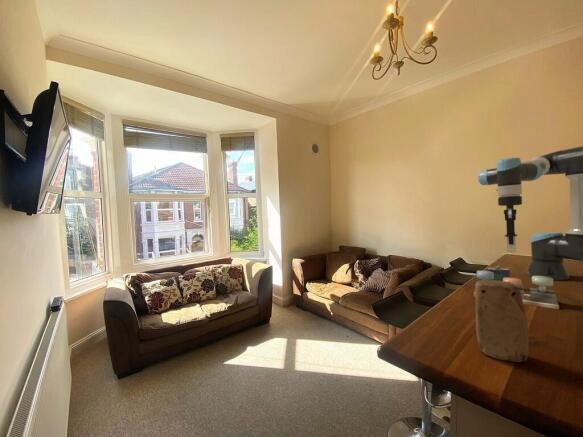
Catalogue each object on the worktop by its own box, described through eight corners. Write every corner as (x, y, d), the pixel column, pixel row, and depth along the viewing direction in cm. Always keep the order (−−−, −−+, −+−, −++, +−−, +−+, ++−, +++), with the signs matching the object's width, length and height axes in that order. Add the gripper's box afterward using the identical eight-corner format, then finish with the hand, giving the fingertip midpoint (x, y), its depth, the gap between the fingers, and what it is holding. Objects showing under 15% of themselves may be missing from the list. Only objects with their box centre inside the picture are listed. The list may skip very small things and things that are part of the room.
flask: (509, 286, 120) (508, 264, 120) (512, 288, 117) (511, 266, 117) (486, 285, 123) (485, 264, 123) (488, 287, 121) (487, 265, 120)
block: (475, 353, 69) (473, 282, 69) (478, 342, 75) (476, 276, 74) (529, 368, 62) (527, 289, 62) (528, 354, 68) (526, 281, 67)
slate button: (484, 282, 115) (484, 270, 115) (497, 286, 109) (497, 273, 109) (473, 284, 114) (473, 271, 114) (486, 288, 108) (486, 274, 108)
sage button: (539, 289, 103) (539, 275, 103) (557, 294, 97) (557, 278, 97) (528, 291, 102) (527, 276, 102) (545, 296, 96) (545, 280, 96)
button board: (473, 296, 111) (473, 286, 111) (476, 290, 118) (475, 280, 118) (559, 309, 93) (558, 297, 93) (555, 301, 101) (555, 289, 101)
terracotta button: (510, 290, 109) (510, 276, 109) (526, 294, 103) (525, 280, 103) (499, 292, 108) (499, 278, 108) (514, 296, 102) (514, 282, 102)
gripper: (498, 196, 112) (500, 248, 112) (497, 196, 102) (499, 253, 103) (521, 195, 107) (523, 249, 107) (522, 195, 97) (524, 255, 98)
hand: (511, 251), depth 105 cm, fingers closed
